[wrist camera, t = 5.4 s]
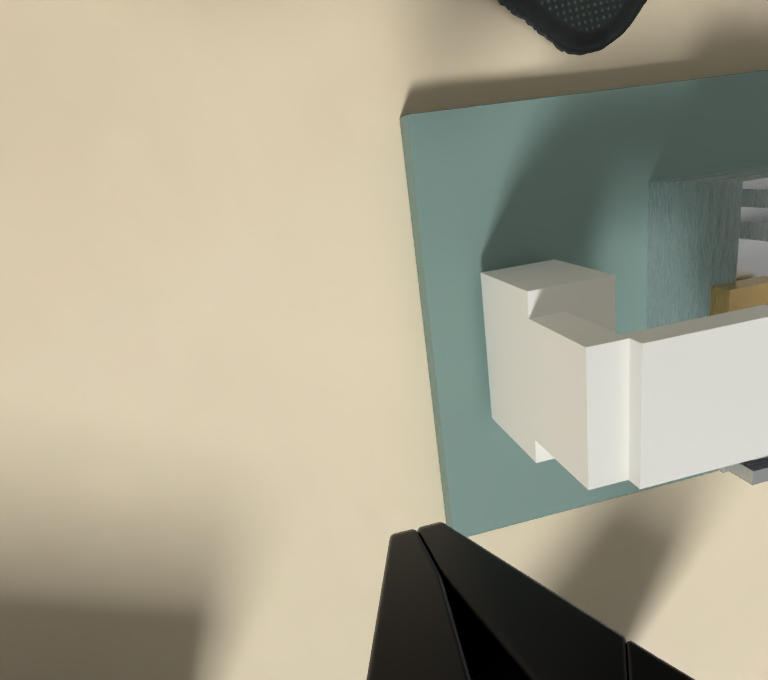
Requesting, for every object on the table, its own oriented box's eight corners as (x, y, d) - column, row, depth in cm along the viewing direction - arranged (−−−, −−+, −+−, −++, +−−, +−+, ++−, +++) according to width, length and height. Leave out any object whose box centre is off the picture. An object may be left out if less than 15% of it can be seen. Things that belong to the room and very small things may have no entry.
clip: (619, 247, 17) (797, 278, 11) (619, 389, 18) (775, 478, 13) (480, 272, 16) (596, 319, 10) (491, 417, 17) (599, 527, 12)
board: (1039, 38, 19) (1071, 32, 19) (963, 392, 24) (986, 399, 23) (399, 118, 15) (407, 114, 15) (446, 526, 20) (454, 540, 19)
